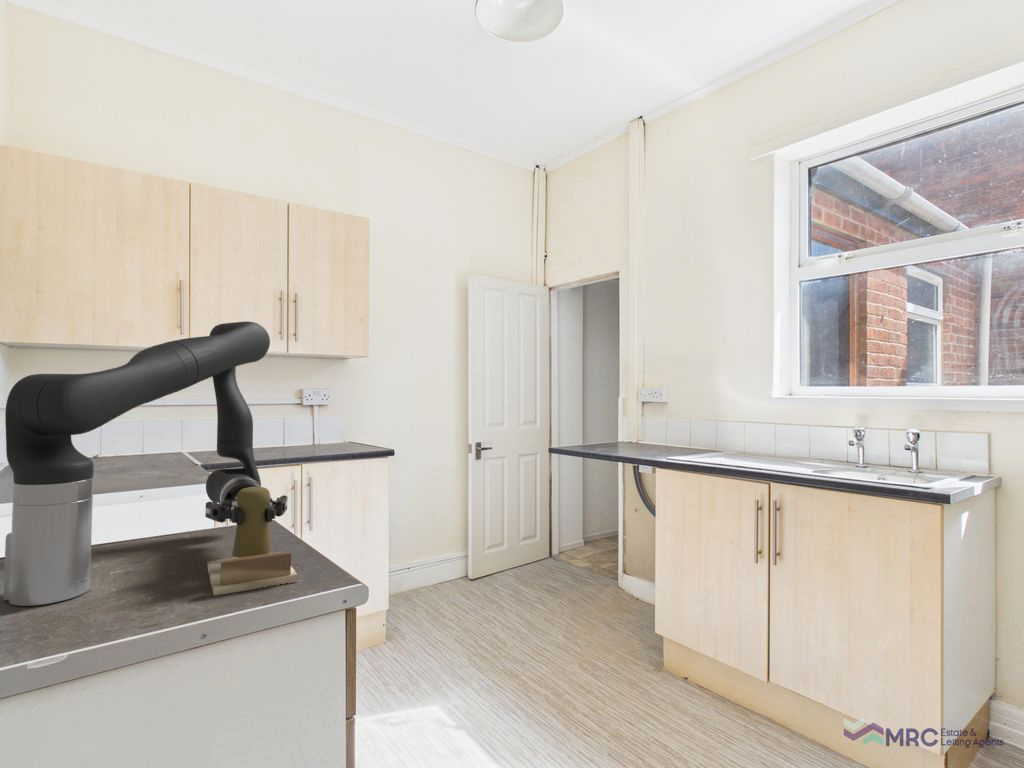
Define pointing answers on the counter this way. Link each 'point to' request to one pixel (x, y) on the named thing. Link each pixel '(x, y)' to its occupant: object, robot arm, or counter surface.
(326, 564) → the counter surface
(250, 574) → the wooden stand base
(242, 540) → the cork
